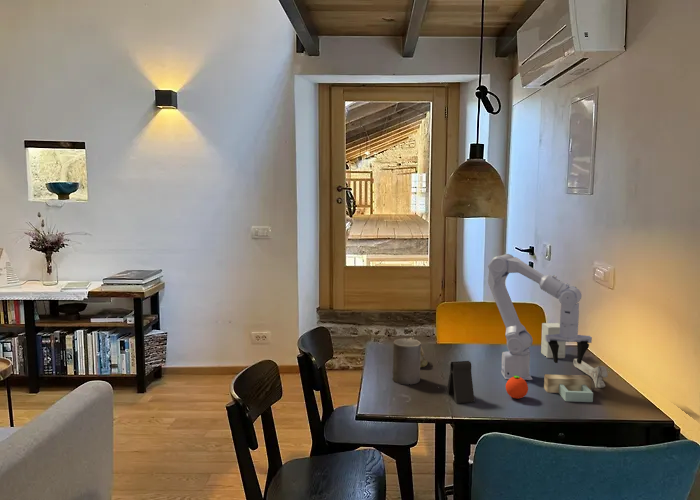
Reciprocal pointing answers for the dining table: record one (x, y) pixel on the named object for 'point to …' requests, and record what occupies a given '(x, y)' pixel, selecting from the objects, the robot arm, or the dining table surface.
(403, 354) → the pillar candle
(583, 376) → the tan rectangular block
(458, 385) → the phone stand
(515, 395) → the clementine
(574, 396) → the bracket
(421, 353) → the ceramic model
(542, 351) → the supplement box
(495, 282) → the robot arm
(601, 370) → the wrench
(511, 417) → the dining table surface
